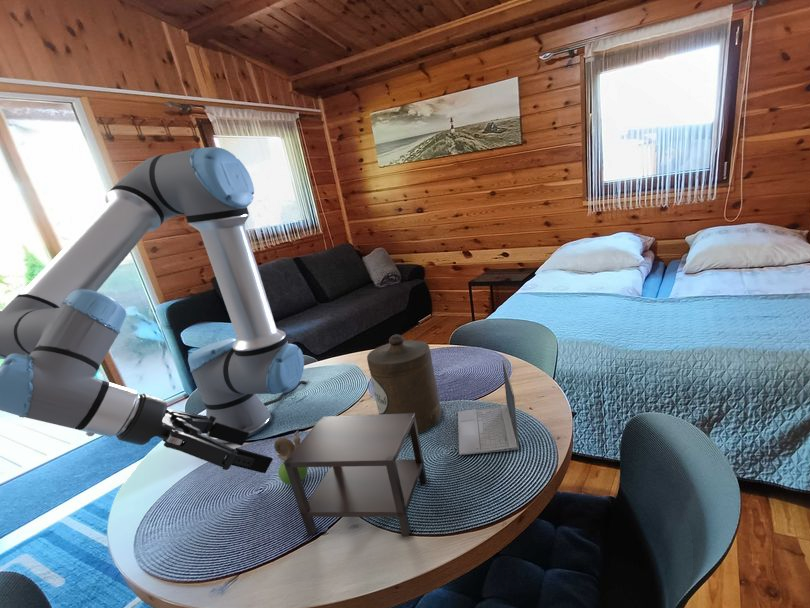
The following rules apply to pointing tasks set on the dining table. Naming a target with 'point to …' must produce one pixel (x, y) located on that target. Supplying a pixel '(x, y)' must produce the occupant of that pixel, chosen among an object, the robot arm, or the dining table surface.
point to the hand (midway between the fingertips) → (256, 451)
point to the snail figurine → (285, 450)
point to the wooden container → (405, 381)
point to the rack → (358, 468)
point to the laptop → (489, 426)
